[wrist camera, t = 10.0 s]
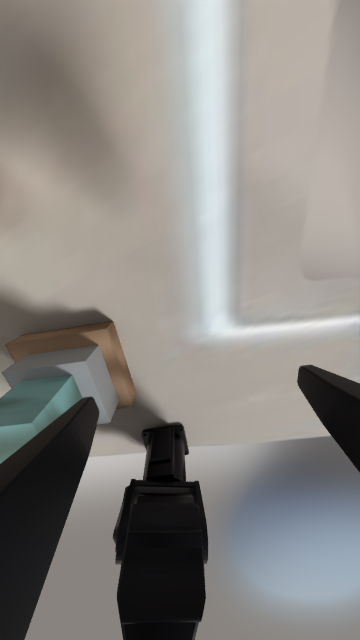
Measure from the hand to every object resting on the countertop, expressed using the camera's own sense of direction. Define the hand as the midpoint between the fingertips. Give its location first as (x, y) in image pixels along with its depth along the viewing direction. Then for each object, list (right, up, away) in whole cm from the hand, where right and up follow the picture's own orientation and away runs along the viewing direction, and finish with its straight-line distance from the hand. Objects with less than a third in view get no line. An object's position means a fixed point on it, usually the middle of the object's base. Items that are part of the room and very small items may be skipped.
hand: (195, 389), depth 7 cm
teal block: (-13, -5, +10) cm, 17 cm away
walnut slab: (-13, -3, +15) cm, 20 cm away
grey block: (-13, -4, +13) cm, 19 cm away
